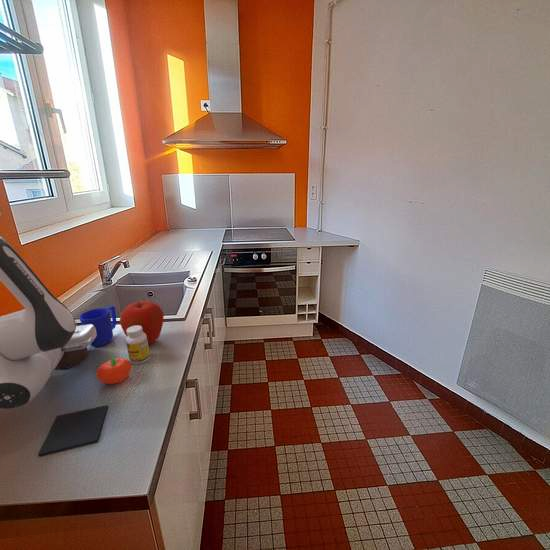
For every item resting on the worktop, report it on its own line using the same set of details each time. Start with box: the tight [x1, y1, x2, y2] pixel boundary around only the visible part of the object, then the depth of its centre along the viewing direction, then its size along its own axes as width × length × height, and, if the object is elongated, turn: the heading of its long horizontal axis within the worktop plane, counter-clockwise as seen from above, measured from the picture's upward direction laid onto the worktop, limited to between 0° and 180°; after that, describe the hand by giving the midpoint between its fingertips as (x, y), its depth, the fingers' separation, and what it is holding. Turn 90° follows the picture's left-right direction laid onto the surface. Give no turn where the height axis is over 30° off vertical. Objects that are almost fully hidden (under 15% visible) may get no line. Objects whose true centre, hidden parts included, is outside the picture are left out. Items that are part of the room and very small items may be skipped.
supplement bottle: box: [125, 325, 151, 365], centre depth 85 cm, size 5×5×10 cm
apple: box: [119, 300, 165, 345], centre depth 92 cm, size 12×12×14 cm
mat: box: [37, 404, 109, 457], centre depth 63 cm, size 10×10×1 cm
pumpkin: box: [95, 357, 133, 385], centre depth 77 cm, size 7×8×6 cm
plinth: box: [53, 347, 90, 371], centre depth 86 cm, size 10×10×5 cm
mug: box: [78, 305, 117, 347], centre depth 96 cm, size 8×12×10 cm
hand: (60, 327), depth 85 cm, fingers closed on stacking piece, 5 cm apart
